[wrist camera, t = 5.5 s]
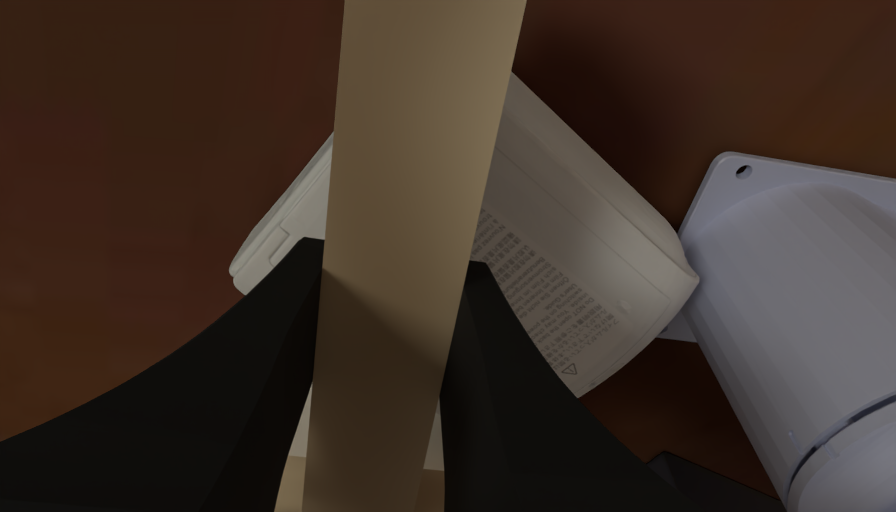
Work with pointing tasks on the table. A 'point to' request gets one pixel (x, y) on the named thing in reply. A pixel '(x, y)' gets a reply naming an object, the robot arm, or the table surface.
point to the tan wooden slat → (398, 243)
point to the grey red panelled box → (711, 487)
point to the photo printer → (535, 243)
